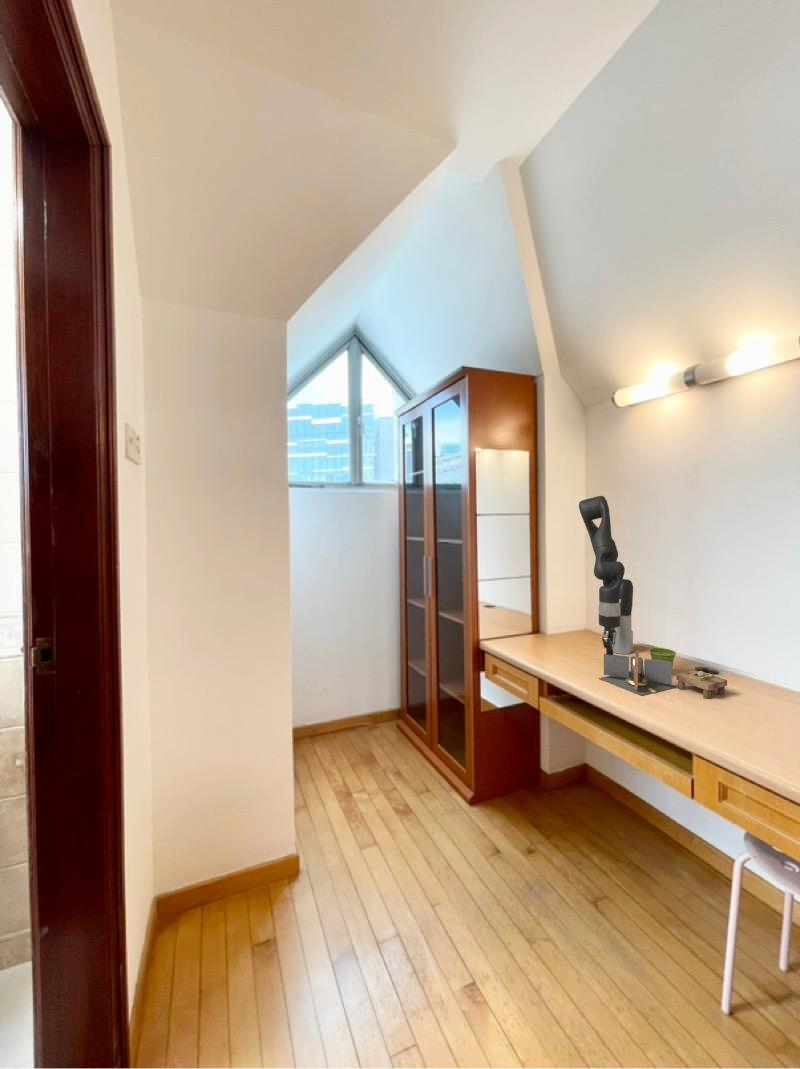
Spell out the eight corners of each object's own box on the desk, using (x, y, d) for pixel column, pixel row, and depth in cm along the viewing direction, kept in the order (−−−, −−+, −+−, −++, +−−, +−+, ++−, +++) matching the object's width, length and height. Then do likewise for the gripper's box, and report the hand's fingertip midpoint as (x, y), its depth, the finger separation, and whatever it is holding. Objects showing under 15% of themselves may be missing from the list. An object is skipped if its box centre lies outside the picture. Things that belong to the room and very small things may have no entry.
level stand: (694, 683, 160) (694, 664, 160) (727, 694, 150) (727, 673, 150) (676, 688, 156) (676, 668, 156) (708, 699, 146) (708, 678, 146)
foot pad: (632, 671, 174) (632, 669, 173) (678, 687, 156) (678, 685, 156) (598, 678, 166) (598, 676, 166) (642, 696, 149) (642, 694, 149)
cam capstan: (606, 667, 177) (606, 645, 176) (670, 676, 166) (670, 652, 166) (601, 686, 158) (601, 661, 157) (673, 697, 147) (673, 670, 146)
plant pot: (681, 677, 167) (681, 654, 166) (656, 677, 167) (656, 654, 167) (668, 669, 176) (668, 647, 176) (644, 668, 177) (644, 647, 176)
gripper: (603, 608, 175) (603, 651, 176) (594, 615, 164) (594, 661, 165) (623, 611, 170) (624, 655, 171) (616, 618, 160) (616, 664, 161)
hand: (609, 657), depth 168 cm, fingers closed
